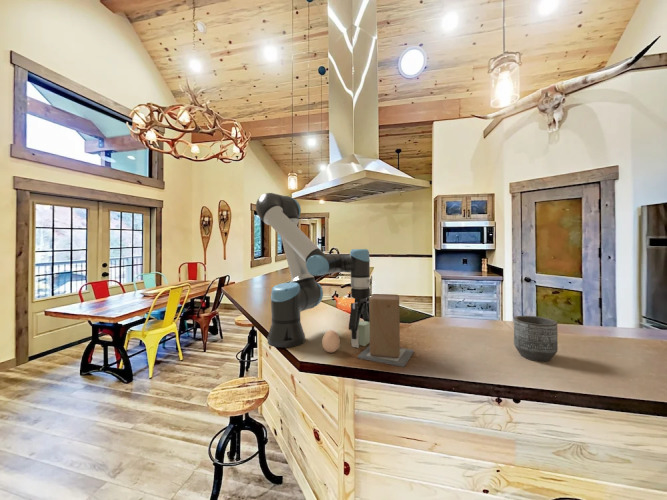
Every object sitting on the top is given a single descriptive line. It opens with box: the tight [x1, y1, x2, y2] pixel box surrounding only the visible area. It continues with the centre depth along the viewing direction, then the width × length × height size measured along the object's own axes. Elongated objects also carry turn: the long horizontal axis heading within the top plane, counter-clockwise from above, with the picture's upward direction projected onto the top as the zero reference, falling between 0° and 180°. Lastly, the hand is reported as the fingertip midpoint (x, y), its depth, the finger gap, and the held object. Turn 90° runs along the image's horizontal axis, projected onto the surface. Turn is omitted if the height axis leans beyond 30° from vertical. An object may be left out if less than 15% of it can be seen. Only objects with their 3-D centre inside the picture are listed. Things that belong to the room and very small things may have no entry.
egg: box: [321, 329, 341, 353], centre depth 103 cm, size 7×7×8 cm
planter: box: [513, 315, 559, 363], centre depth 96 cm, size 12×12×13 cm
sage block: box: [350, 320, 370, 347], centre depth 113 cm, size 6×6×8 cm
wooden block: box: [369, 293, 401, 358], centre depth 100 cm, size 10×10×20 cm
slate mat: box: [357, 344, 414, 368], centre depth 100 cm, size 16×14×1 cm
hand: (361, 342), depth 113 cm, fingers open, 11 cm apart
